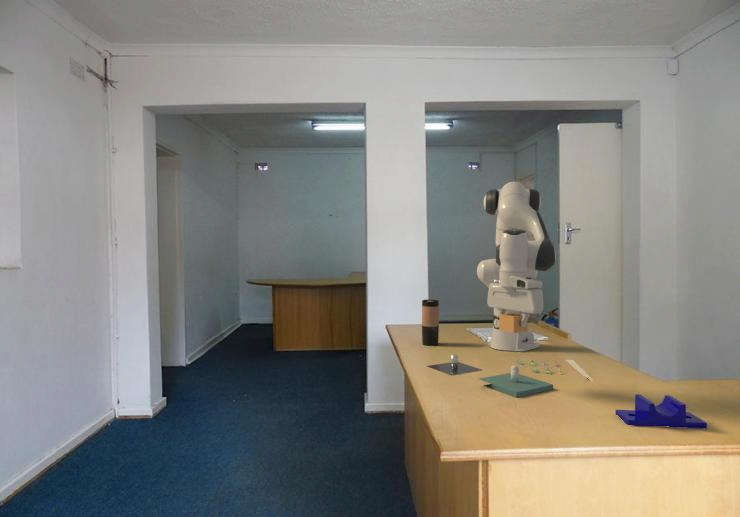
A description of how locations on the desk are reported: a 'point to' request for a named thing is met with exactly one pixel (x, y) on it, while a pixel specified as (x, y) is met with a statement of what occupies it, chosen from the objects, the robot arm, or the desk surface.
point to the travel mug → (430, 322)
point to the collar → (511, 323)
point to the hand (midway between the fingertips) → (513, 324)
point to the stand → (454, 367)
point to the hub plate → (516, 383)
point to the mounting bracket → (660, 414)
